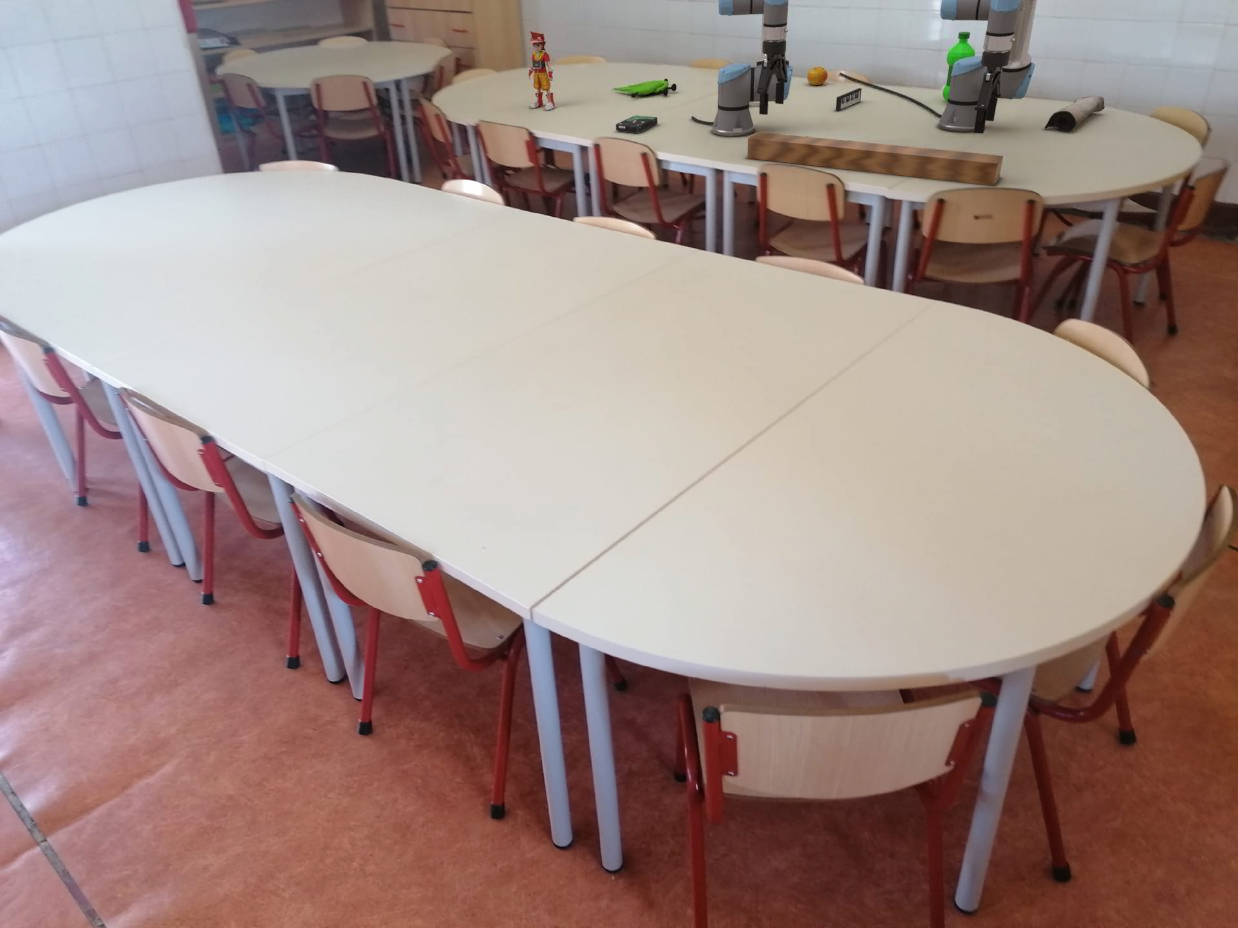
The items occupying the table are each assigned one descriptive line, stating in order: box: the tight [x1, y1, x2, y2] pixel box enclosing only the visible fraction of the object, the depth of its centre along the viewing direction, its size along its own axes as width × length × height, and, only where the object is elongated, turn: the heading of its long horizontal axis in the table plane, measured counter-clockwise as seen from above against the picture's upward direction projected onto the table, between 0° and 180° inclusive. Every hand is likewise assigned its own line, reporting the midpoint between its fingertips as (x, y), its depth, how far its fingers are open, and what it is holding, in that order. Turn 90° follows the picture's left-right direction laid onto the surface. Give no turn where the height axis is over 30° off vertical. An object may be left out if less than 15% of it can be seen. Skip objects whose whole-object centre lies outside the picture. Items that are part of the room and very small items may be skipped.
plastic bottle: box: [942, 31, 976, 103], centre depth 348 cm, size 10×10×25 cm
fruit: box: [806, 66, 829, 86], centre depth 389 cm, size 8×8×8 cm
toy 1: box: [527, 31, 556, 111], centre depth 374 cm, size 12×9×30 cm
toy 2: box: [612, 78, 677, 99], centre depth 396 cm, size 28×5×30 cm
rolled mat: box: [1044, 95, 1106, 133], centre depth 322 cm, size 30×9×10 cm
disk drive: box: [615, 114, 658, 134], centre depth 347 cm, size 10×3×15 cm
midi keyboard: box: [835, 87, 863, 112], centre depth 357 cm, size 18×1×5 cm, turn 138°
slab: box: [747, 131, 1004, 186], centre depth 291 cm, size 81×8×7 cm, turn 59°
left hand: (771, 109), depth 299 cm, fingers open, 13 cm apart
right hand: (983, 127), depth 269 cm, fingers open, 13 cm apart
